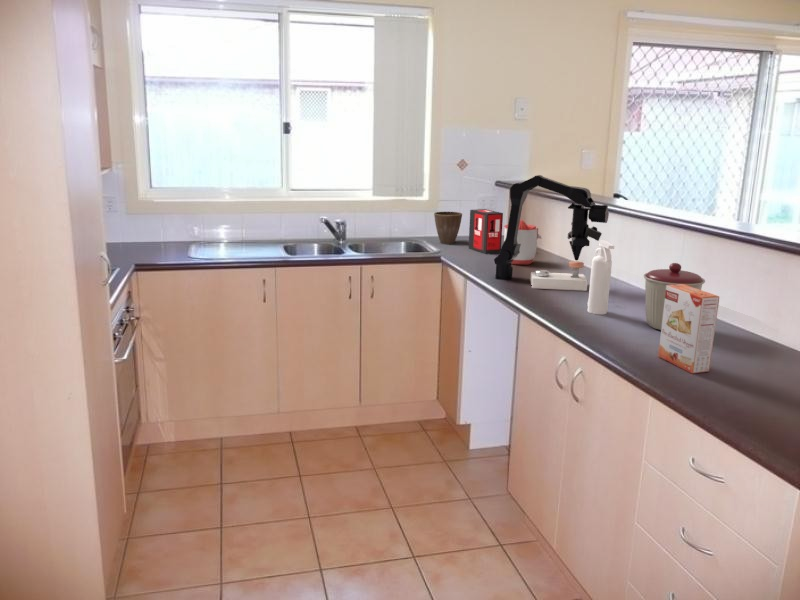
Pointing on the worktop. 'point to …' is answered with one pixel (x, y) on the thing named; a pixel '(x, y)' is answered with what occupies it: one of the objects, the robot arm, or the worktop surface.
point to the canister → (657, 290)
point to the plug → (542, 273)
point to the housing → (559, 281)
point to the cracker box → (688, 327)
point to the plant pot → (447, 226)
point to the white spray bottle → (600, 279)
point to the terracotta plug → (576, 267)
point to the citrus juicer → (525, 243)
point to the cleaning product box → (485, 231)
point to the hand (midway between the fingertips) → (576, 260)
